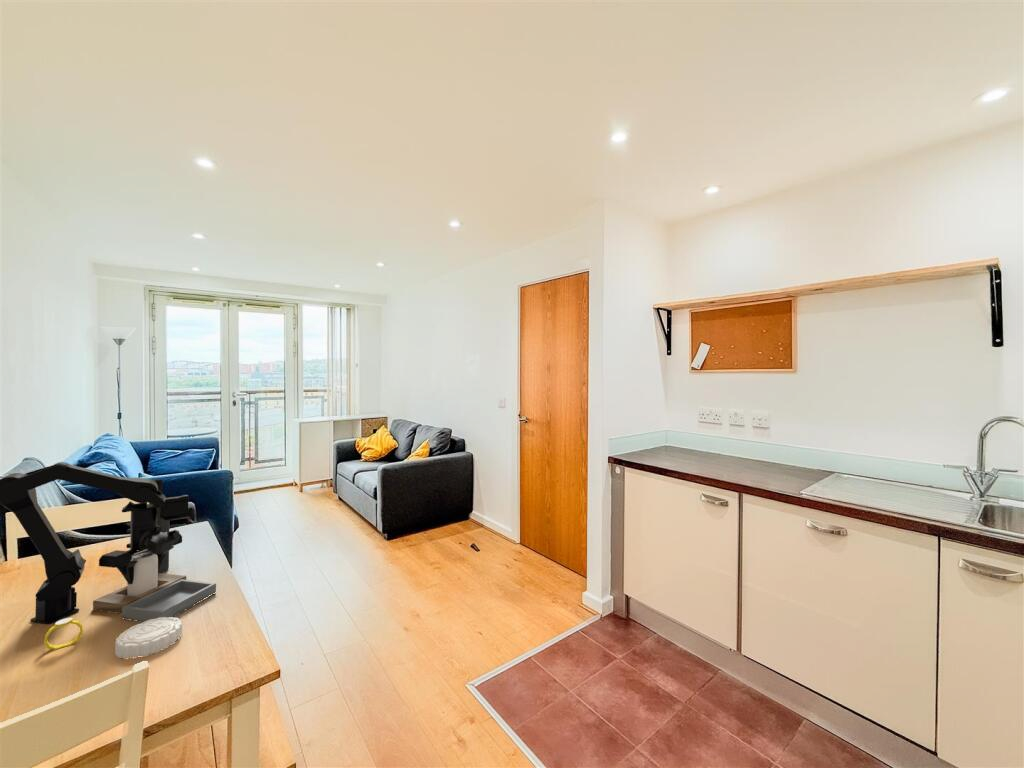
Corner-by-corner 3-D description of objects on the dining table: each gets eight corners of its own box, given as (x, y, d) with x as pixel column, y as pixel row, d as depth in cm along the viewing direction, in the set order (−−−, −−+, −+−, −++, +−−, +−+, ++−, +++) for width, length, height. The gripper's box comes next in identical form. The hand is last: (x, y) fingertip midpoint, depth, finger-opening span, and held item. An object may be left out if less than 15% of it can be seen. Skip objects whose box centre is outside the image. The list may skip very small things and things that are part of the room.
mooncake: (175, 623, 106) (175, 609, 106) (188, 642, 99) (188, 626, 99) (110, 645, 97) (111, 630, 97) (119, 668, 89) (120, 651, 89)
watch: (45, 655, 93) (42, 630, 93) (45, 650, 95) (43, 625, 95) (83, 642, 98) (81, 617, 97) (83, 637, 99) (81, 613, 99)
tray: (160, 624, 105) (160, 612, 105) (121, 619, 107) (122, 607, 107) (215, 593, 121) (216, 583, 121) (181, 589, 123) (181, 579, 123)
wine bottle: (155, 576, 131) (157, 481, 131) (137, 576, 131) (139, 481, 131) (170, 568, 137) (172, 477, 137) (153, 568, 137) (155, 477, 137)
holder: (125, 614, 110) (125, 604, 110) (93, 609, 111) (93, 600, 111) (186, 584, 126) (186, 575, 126) (157, 580, 128) (157, 572, 128)
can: (130, 604, 114) (130, 561, 114) (124, 596, 118) (125, 555, 118) (160, 595, 119) (160, 553, 120) (154, 588, 123) (154, 548, 123)
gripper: (131, 538, 108) (130, 597, 108) (197, 516, 127) (196, 567, 127) (97, 534, 110) (96, 593, 110) (167, 513, 129) (166, 563, 129)
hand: (143, 578), depth 119 cm, fingers closed on can, 6 cm apart
